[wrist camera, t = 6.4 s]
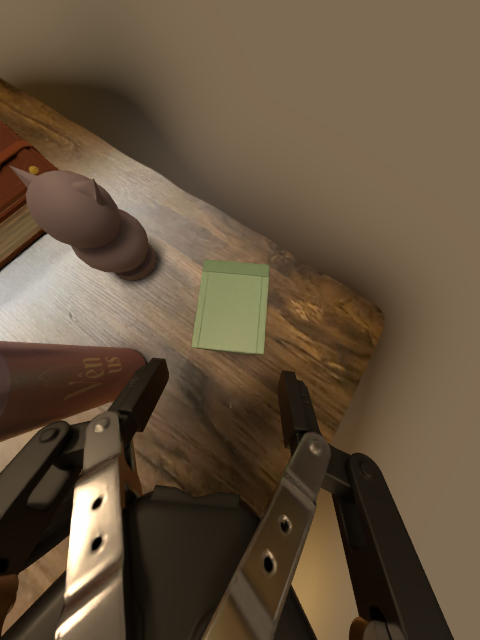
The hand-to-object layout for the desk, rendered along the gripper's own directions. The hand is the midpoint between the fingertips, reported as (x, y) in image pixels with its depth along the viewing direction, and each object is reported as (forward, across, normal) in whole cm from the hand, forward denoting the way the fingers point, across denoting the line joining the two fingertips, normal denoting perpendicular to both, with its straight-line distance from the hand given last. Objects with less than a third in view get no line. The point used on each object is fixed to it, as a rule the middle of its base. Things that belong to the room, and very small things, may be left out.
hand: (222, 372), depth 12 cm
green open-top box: (+12, 0, +4) cm, 12 cm away
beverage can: (+6, +14, +9) cm, 18 cm away
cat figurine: (+17, +16, -2) cm, 23 cm away
